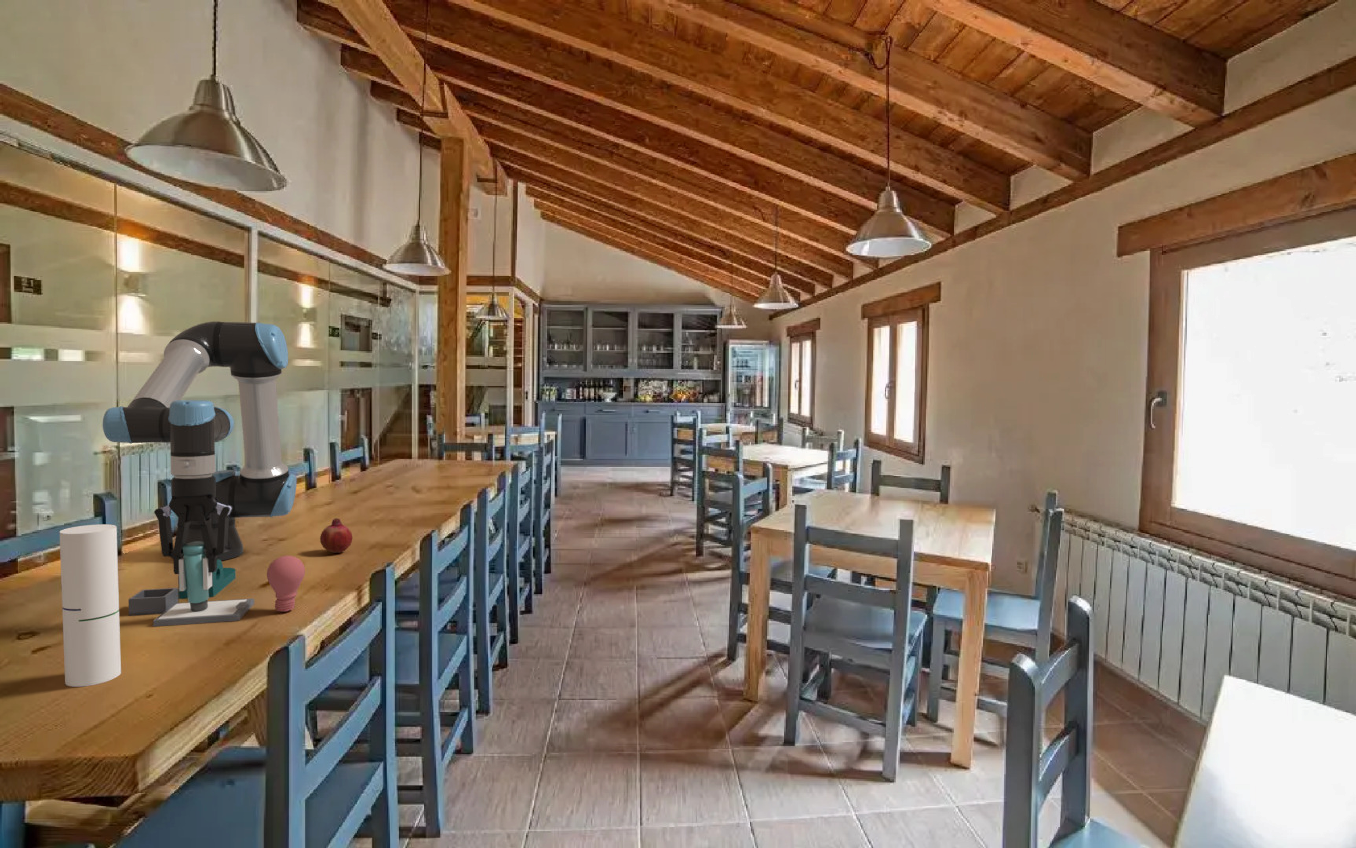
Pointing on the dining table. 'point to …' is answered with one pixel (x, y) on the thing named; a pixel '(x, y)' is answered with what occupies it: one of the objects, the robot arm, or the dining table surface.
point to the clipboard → (204, 613)
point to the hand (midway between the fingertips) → (196, 588)
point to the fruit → (336, 537)
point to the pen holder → (152, 601)
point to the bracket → (215, 580)
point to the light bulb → (285, 580)
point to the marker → (195, 575)
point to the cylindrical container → (90, 604)
